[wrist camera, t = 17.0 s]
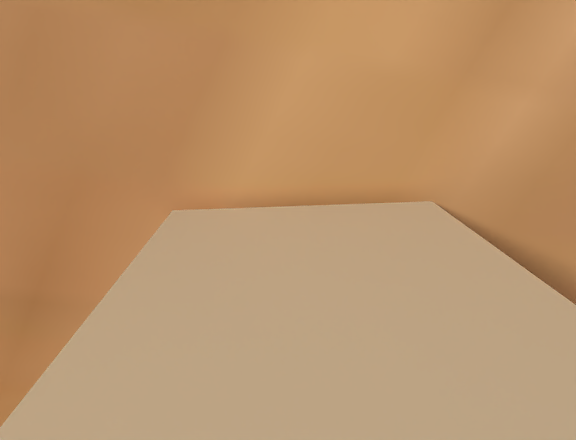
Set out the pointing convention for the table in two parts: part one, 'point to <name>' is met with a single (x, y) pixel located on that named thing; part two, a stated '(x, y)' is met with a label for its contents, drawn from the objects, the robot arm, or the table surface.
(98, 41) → the table surface
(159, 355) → the beige cube
